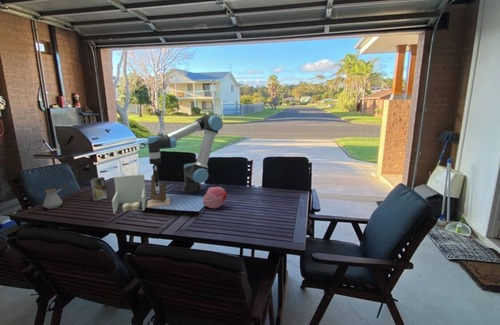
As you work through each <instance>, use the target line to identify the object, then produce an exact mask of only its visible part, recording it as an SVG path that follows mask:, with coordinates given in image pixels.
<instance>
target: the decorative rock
mask: <svg viewBox="0 0 500 325" xmlns="http://www.w3.org/2000/svg"><path fill="white" fill-rule="evenodd" d="M227 195H228V193H227V192H226V190H225V189H224V188H223V187H221V186H212V187H208V189H207V190H206V193H205V195H204V196H203V198H202V204H203V205H204V206H205V207H207V208H210V209H213V210H214V209H218V208H220V207H221V206H222V205H223V204H224V203H225V202H226V198H227Z"/></svg>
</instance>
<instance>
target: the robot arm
mask: <svg viewBox="0 0 500 325" xmlns="http://www.w3.org/2000/svg"><path fill="white" fill-rule="evenodd" d="M223 122H224V121H223V120H222V118H221V117H220V116H218V115H215V114H207V115H203V116H200V117H199V118H197V119H195V120H194V121H193V122H191V123H189V124H187V125H184V126H182V127H180V128H177V129H176V130H173V131H171V132H168V133H166V134H164V135H149V136H148V137H147V148H148V153H147V155H148V157H149V160H148V161H149V164H150V165H152V169H153V170H152V171H153V175H154V177H155V181H154V182H155V190H156V192H160V190H159V187H160V177H159V168H160V167H159V164H161V162H162V159H161V156H162V155H161V150H163V149H166V150H167V149H174V148H176V147H177V144H178V143H177V141H179V140H181V139H183V138H185V137H188V136H190V135H192V134H194V133H196V132H201V131H203V132H204V134H203V137H202V141H201V144H200V146H199V151H198V155H197V158H196V162H191V163H186V164H184V165H183V176H184V177H183V178H184V184H183V188H182V192H183V193H185V194H194V193H195V194H196V193H199V192H202V185H201V183H204V182H206V181H207V180H208V179H209V172H208V170H209V167H208V163H209V159H210V156H211V151H212V148H213V145H214V141H215V137H216V136H217V135H219V131H220V130H221V129H222V128H223V125H224V123H223Z"/></svg>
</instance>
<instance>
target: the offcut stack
mask: <svg viewBox="0 0 500 325" xmlns="http://www.w3.org/2000/svg"><path fill="white" fill-rule="evenodd" d="M122 204H123V205H122V211H123V212H128V211H135V210H136V211H138V210H140V206H141V205H140V204H141V201H136V202H128V203H122Z"/></svg>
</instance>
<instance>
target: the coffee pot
mask: <svg viewBox="0 0 500 325" xmlns="http://www.w3.org/2000/svg"><path fill="white" fill-rule="evenodd" d="M70 184H71V185H72V184H73V182H72V181H69V182H67V183H66V184H65V185H63V186H62V187H60V189H58V190H57V188H49V189H48V188H47V189H45V191H44V192H46V194H45V198H44V200H43V204H42V206H43V208H46V209H47V210H53V209H57V208H60V207H61V206H62V205H63V200H62V199H61V197H60V196H59V194H57V193H58V192H60V191H61V190H62V189H65V188H66V187H67V186H68V185H70Z"/></svg>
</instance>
